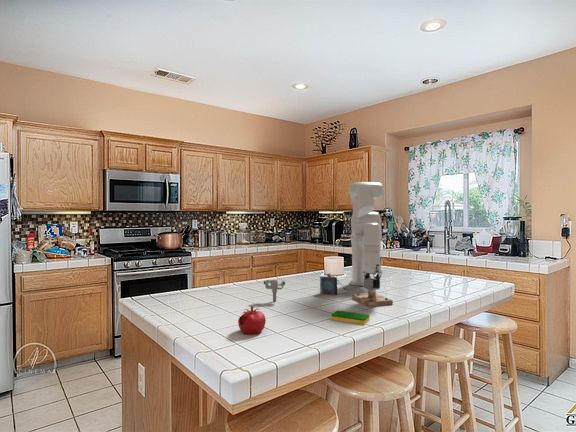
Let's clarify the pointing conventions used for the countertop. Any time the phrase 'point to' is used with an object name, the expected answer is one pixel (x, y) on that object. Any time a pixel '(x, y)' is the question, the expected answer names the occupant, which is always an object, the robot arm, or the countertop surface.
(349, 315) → the dish sponge
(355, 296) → the shaft block
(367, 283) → the grey hollow octagonal piece
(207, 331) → the countertop surface
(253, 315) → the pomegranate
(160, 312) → the countertop surface
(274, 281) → the mechanical component
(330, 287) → the flask
